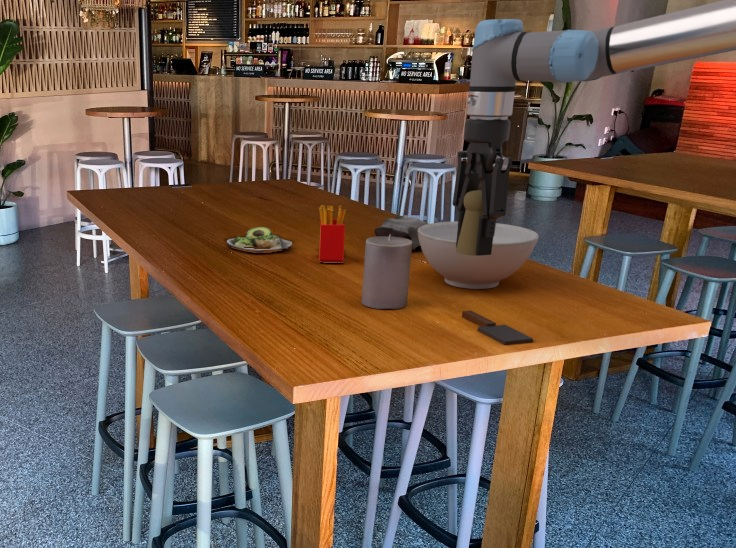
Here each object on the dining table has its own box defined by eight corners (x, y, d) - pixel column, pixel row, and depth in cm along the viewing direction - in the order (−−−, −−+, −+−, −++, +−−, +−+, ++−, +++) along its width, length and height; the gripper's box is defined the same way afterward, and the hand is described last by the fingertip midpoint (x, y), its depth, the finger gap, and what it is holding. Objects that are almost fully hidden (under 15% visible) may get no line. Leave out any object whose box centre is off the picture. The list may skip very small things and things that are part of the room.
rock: (367, 241, 232) (369, 214, 229) (401, 239, 235) (403, 212, 232) (399, 254, 216) (401, 225, 213) (435, 252, 219) (438, 223, 216)
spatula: (532, 342, 146) (533, 335, 146) (504, 344, 145) (505, 338, 145) (478, 315, 163) (479, 309, 162) (452, 317, 161) (453, 311, 161)
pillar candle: (378, 295, 177) (383, 228, 171) (416, 303, 170) (422, 234, 165) (352, 303, 171) (356, 234, 165) (389, 313, 164) (395, 241, 159)
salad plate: (309, 250, 220) (310, 234, 219) (257, 258, 212) (257, 241, 210) (269, 239, 236) (270, 223, 234) (219, 246, 227) (218, 230, 225)
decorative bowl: (543, 278, 191) (551, 228, 186) (513, 304, 170) (521, 248, 166) (435, 264, 205) (440, 217, 200) (396, 286, 184) (400, 235, 179)
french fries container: (317, 264, 206) (319, 209, 200) (316, 256, 214) (318, 204, 209) (344, 264, 205) (347, 210, 200) (343, 256, 213) (345, 204, 208)
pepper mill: (449, 249, 147) (455, 189, 143) (477, 247, 148) (484, 188, 144) (467, 256, 141) (474, 194, 137) (496, 254, 143) (504, 192, 139)
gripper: (440, 115, 144) (428, 241, 152) (501, 121, 127) (483, 263, 135) (477, 114, 146) (463, 239, 154) (541, 120, 129) (522, 260, 137)
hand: (473, 250), depth 145 cm, fingers closed on pepper mill, 6 cm apart
